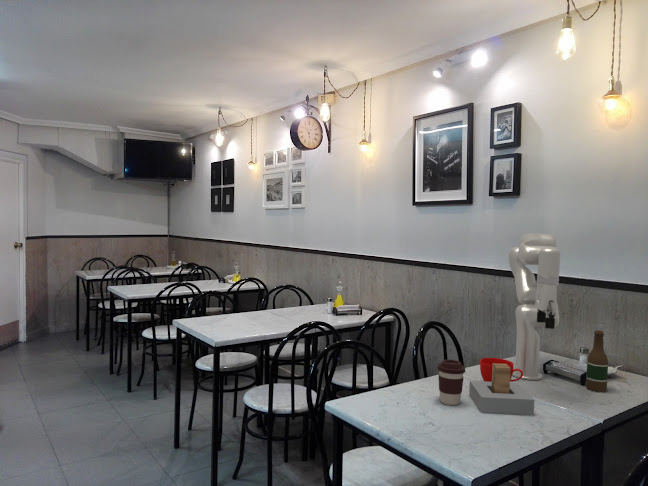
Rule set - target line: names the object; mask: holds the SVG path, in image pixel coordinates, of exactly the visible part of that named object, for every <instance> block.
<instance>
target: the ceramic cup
mask: <svg viewBox="0 0 648 486" xmlns="http://www.w3.org/2000/svg"><path fill="white" fill-rule="evenodd" d="M493 363H495V364H507V365H508V366H509V367H510V383H514V382H518V381H519V380H521V378H522V377H523V372H522V370H520V369H515V364H514V362H513V361H510V360H507V359H504V358H497V357H484V358H481V359H480V361H479V369H480V376H481V378H482V380H483V381H486V382H492V365H493ZM514 371H520V372H521V376H520V377H519V378H515V379H512V377H513V375H512V374H513V372H514Z"/></svg>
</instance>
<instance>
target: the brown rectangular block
mask: <svg viewBox="0 0 648 486" xmlns="http://www.w3.org/2000/svg"><path fill="white" fill-rule="evenodd" d="M510 383H511V382H510V367H509V366H508V365H507V364H495V363H493V365H492V388H491V392H492V393H503V394H509V390H510Z"/></svg>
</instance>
